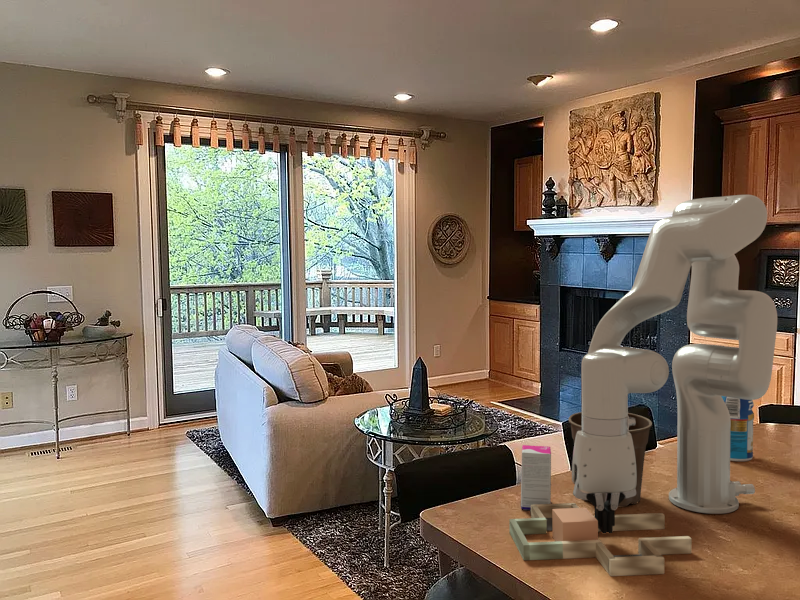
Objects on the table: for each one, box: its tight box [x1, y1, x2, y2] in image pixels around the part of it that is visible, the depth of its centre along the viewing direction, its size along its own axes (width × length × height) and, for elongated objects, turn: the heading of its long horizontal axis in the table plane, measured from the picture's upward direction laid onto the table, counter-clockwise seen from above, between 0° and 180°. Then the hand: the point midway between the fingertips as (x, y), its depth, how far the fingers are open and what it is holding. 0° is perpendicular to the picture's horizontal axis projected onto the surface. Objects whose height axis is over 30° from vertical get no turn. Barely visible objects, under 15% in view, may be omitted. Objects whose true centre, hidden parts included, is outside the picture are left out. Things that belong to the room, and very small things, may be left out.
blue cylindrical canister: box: [721, 396, 755, 462], centre depth 160 cm, size 8×8×20 cm
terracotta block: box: [552, 507, 599, 541], centre depth 114 cm, size 6×6×5 cm
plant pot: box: [568, 411, 653, 508], centre depth 135 cm, size 16×16×16 cm
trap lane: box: [508, 502, 692, 577], centre depth 114 cm, size 28×24×2 cm
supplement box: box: [520, 444, 552, 511], centre depth 132 cm, size 6×6×12 cm
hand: (604, 530), depth 114 cm, fingers closed
